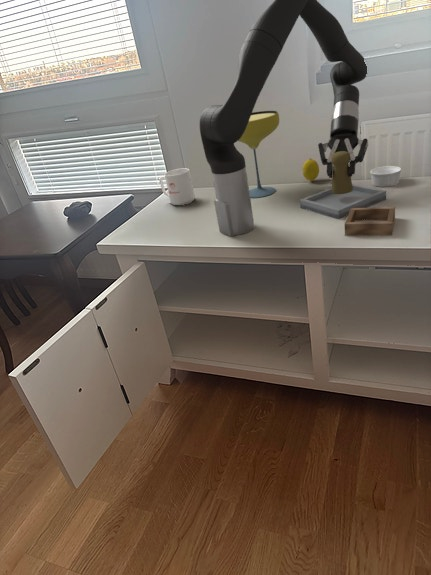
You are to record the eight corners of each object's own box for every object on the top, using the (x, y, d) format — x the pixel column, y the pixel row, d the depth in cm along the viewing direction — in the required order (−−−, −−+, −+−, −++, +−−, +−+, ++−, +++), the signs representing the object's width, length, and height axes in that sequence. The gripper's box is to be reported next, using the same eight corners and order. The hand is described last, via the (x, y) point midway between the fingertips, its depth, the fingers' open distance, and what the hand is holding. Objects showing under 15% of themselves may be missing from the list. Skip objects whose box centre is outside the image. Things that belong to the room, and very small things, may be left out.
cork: (337, 195, 121) (335, 156, 116) (327, 190, 127) (325, 153, 121) (357, 190, 122) (356, 151, 117) (346, 185, 127) (344, 147, 122)
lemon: (318, 178, 152) (317, 155, 148) (320, 182, 147) (319, 159, 143) (302, 180, 153) (301, 157, 149) (304, 185, 148) (302, 161, 144)
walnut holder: (344, 235, 107) (344, 224, 105) (351, 218, 115) (350, 208, 114) (391, 235, 102) (392, 223, 101) (394, 217, 111) (395, 206, 109)
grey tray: (338, 219, 116) (338, 210, 115) (300, 207, 129) (299, 199, 128) (386, 199, 123) (386, 190, 122) (345, 190, 136) (344, 182, 135)
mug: (199, 197, 157) (193, 167, 152) (188, 206, 150) (181, 175, 145) (171, 198, 162) (164, 169, 157) (159, 207, 155) (152, 177, 150)
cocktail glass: (273, 202, 138) (263, 120, 126) (225, 201, 147) (211, 125, 136) (294, 183, 151) (287, 108, 139) (248, 184, 160) (238, 113, 148)
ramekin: (374, 179, 140) (374, 166, 138) (403, 178, 136) (403, 165, 134) (367, 188, 134) (367, 174, 132) (397, 188, 130) (397, 173, 127)
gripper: (317, 117, 124) (312, 171, 120) (370, 110, 118) (366, 167, 114) (321, 132, 130) (317, 183, 127) (371, 126, 125) (368, 180, 121)
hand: (340, 175), depth 121 cm, fingers closed on cork, 5 cm apart
